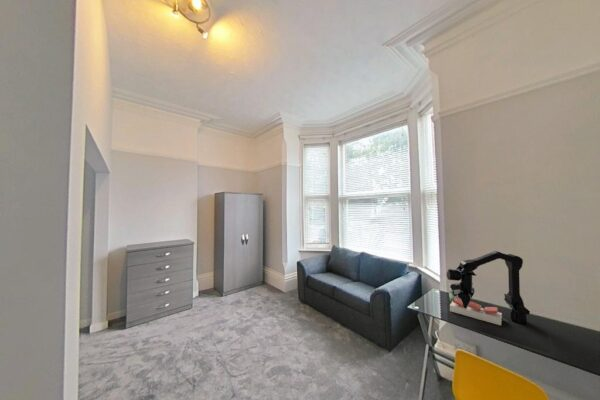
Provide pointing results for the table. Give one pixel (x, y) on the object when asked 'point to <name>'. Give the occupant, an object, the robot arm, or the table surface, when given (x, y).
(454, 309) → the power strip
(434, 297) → the table surface
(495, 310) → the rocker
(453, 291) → the ink box
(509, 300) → the robot arm
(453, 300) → the rocker
